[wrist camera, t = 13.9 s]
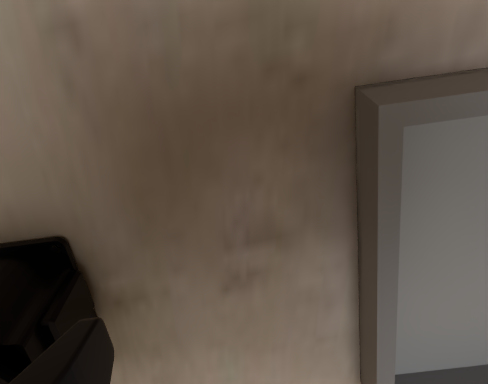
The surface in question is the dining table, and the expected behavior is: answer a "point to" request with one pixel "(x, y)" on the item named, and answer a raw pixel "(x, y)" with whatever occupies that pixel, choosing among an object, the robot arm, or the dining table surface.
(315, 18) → the dining table surface
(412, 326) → the gray walled tray
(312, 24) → the dining table surface
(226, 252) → the dining table surface
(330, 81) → the dining table surface
